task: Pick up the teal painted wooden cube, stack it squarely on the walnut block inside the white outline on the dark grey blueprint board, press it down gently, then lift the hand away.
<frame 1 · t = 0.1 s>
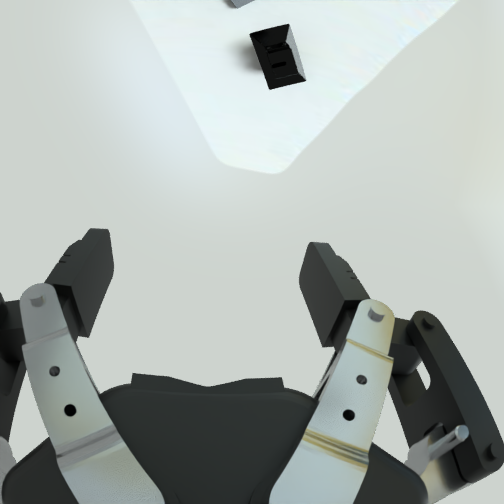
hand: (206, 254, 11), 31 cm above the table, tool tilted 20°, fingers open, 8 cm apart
black boxy piece: (278, 55, 30), on the table
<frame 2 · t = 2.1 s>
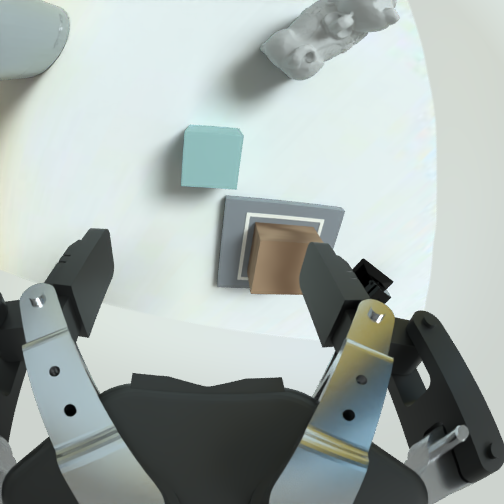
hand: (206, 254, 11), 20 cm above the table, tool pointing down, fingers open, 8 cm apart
walnut block: (279, 250, 34), point 1 cm above the table, touching blueprint board
dog figurine: (308, 36, 21), on the table
black boxy piece: (365, 280, 41), on the table
teal cube: (211, 149, 27), on the table
blueprint board: (277, 246, 34), on the table
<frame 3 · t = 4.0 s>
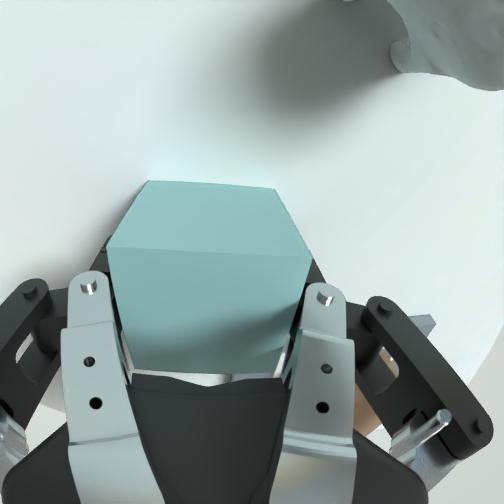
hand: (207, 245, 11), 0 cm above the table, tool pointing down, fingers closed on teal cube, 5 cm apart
walnut block: (327, 386, 18), point 1 cm above the table, touching blueprint board
teal cube: (207, 238, 12), on the table, touching gripper
blueprint board: (324, 375, 19), on the table
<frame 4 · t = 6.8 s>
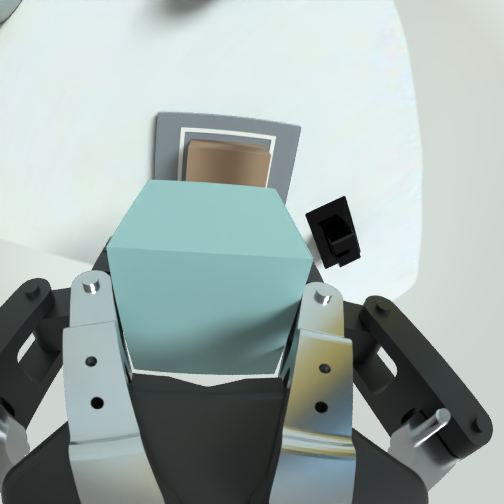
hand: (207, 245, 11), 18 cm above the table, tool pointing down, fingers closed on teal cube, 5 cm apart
walnut block: (223, 174, 27), point 1 cm above the table, touching blueprint board
black boxy piece: (332, 231, 35), on the table
teal cube: (207, 238, 12), point 18 cm above the table, touching gripper
blueprint board: (223, 172, 28), on the table
when the fingers open (6 cm above the table, at t = 9.2 s): teal cube stays where it is, resting on walnut block.
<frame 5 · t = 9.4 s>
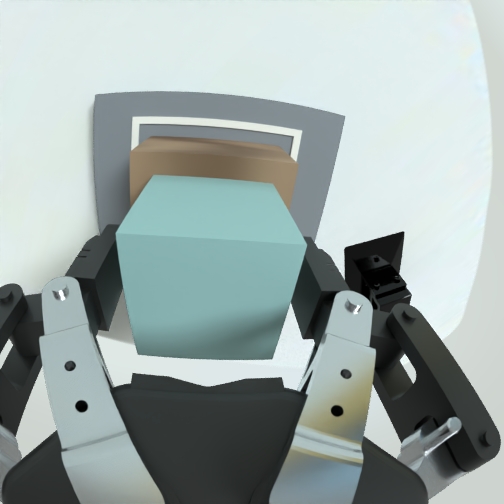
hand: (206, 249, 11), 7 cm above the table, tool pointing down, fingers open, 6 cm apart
walnut block: (209, 198, 16), point 1 cm above the table, touching blueprint board, teal cube
black boxy piece: (369, 279, 23), on the table
teal cube: (208, 231, 12), point 5 cm above the table, touching walnut block
blueprint board: (209, 192, 17), on the table
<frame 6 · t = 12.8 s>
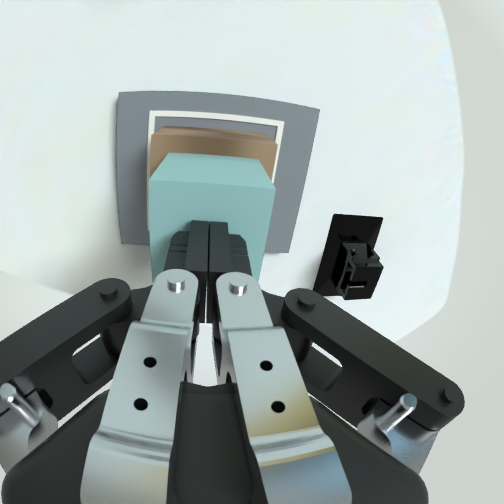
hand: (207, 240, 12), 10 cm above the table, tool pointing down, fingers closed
walnut block: (210, 176, 19), point 1 cm above the table, touching blueprint board, teal cube
black boxy piece: (344, 254, 27), on the table
teal cube: (209, 196, 16), point 5 cm above the table, touching gripper, walnut block
blueprint board: (210, 172, 20), on the table
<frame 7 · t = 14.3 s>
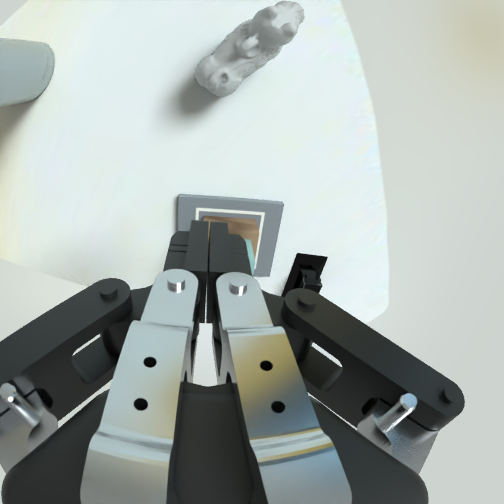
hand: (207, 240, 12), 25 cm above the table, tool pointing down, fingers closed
walnut block: (227, 240, 39), point 1 cm above the table, touching blueprint board, teal cube
dog figurine: (241, 55, 27), on the table
black boxy piece: (302, 275, 46), on the table
blueprint board: (227, 236, 40), on the table
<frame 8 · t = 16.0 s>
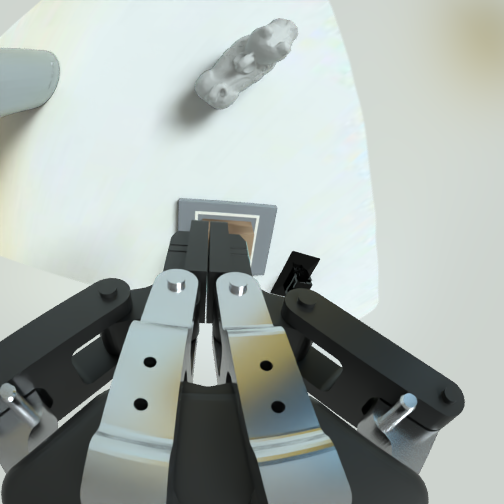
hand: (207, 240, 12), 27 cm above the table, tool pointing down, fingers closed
walnut block: (224, 241, 42), point 1 cm above the table, touching blueprint board, teal cube
dog figurine: (238, 67, 30), on the table
black boxy piece: (293, 274, 49), on the table
blueprint board: (224, 237, 43), on the table
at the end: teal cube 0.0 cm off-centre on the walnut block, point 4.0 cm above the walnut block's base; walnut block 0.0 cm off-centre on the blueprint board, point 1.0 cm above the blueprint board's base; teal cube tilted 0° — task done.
